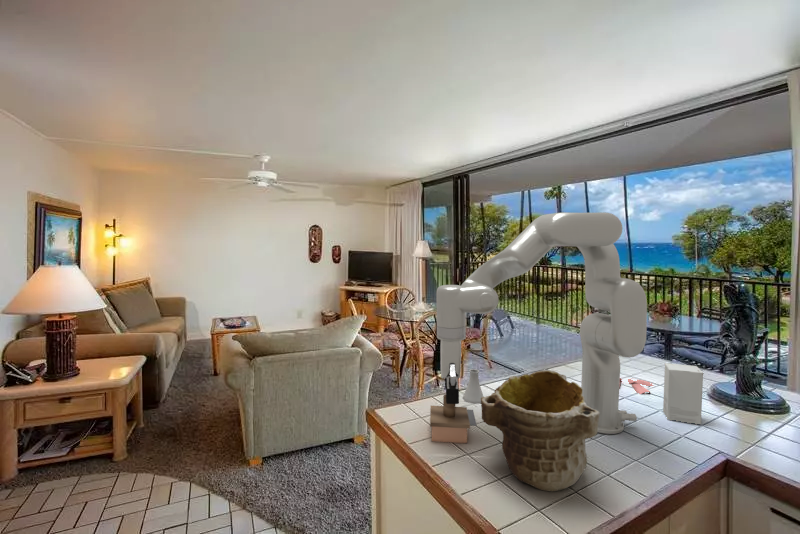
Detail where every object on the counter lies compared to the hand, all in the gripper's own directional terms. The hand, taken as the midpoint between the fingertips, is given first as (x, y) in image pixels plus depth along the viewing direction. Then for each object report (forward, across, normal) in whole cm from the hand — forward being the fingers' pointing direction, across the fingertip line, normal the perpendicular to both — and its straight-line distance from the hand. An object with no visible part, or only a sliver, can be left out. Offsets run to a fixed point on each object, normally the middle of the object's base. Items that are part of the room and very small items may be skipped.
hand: (451, 395), depth 99 cm
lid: (+6, 0, -1) cm, 6 cm away
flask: (+11, -23, +8) cm, 27 cm away
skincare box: (+13, -17, +68) cm, 71 cm away
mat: (+11, -10, +2) cm, 15 cm away
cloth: (+14, -41, +65) cm, 78 cm away
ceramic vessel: (+11, +14, +17) cm, 25 cm away
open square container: (+11, 0, -1) cm, 11 cm away
